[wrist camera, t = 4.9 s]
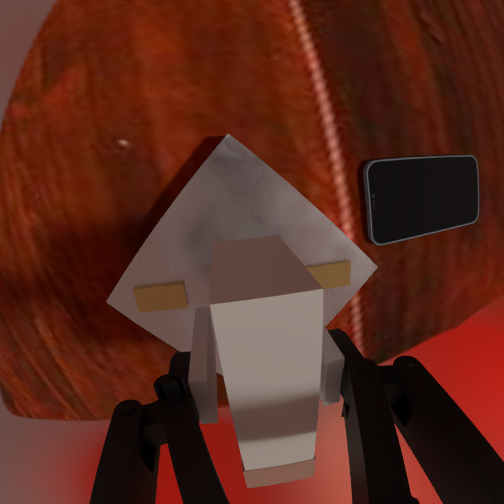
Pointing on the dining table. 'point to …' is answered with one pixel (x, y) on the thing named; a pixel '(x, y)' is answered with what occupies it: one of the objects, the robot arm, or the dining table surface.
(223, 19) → the dining table surface
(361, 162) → the dining table surface
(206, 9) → the dining table surface
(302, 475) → the grey rectangular block
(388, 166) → the smartphone
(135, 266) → the socket
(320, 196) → the dining table surface
